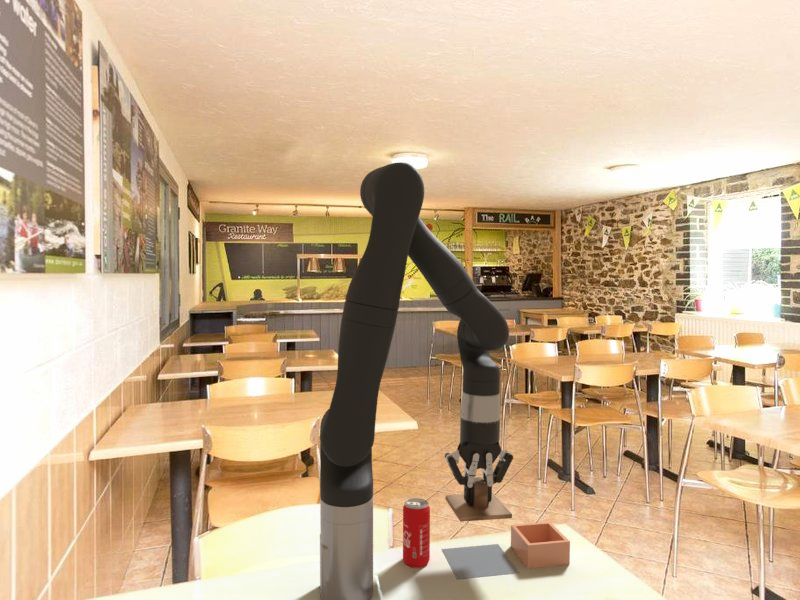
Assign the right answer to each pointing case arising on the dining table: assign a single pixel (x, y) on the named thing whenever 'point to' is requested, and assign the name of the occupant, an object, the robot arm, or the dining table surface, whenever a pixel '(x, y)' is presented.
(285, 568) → the dining table surface
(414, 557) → the beverage can
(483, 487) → the lid
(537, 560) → the open salmon box
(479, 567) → the mat
